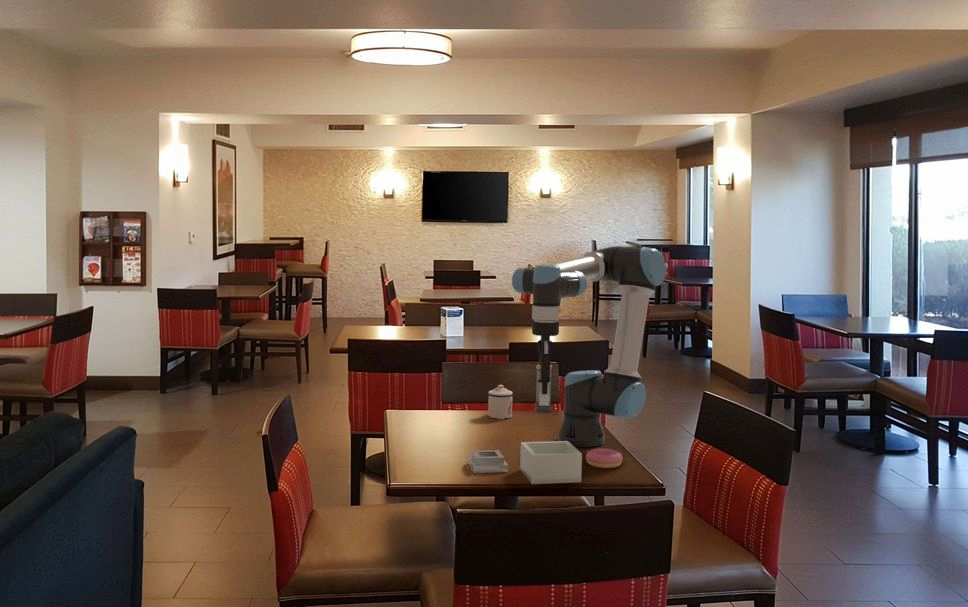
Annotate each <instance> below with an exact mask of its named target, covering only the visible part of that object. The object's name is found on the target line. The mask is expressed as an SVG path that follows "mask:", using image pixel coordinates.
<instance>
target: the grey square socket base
mask: <svg viewBox="0 0 968 607" xmlns="http://www.w3.org/2000/svg"><path fill="white" fill-rule="evenodd" d="M467 464H468V467H469V468H470V470H471V469H472V470H471V471H472V473H473V474H488V473H489V474H490V473H492V474H493V473H509V464H508V463H507V461H506V460H505V456H504V455H503V454H502V452H501V451H500V450H499V449H490V450H488V449H487V450H486V449H485V450H471V456H467Z"/></svg>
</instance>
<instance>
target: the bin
mask: <svg viewBox="0 0 968 607" xmlns="http://www.w3.org/2000/svg"><path fill="white" fill-rule="evenodd" d="M519 459H520V461H519V462H520V464H519V465H520V466H519V467H520V468H519V469H520V470H519V471H521V472H522V474H523V475H524V476H525V478H527V480H528V481H529V482H530V484H531V485H536V484H537V485H540V484H541V485H542V484H545V485H546V484H565V483H566V484H568V483H569V484H570V483H571V484H572V483H582V470H583V469H582V465H583V464H582V463H583V462H582V461H583V453H582V452H580V450H578V449H577V447H576V446H573V445H572V444H571V443H570V442H568V441H558V440H557V441H556V440H555V441H526V442H525V441H521V442H520V458H519Z"/></svg>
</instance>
